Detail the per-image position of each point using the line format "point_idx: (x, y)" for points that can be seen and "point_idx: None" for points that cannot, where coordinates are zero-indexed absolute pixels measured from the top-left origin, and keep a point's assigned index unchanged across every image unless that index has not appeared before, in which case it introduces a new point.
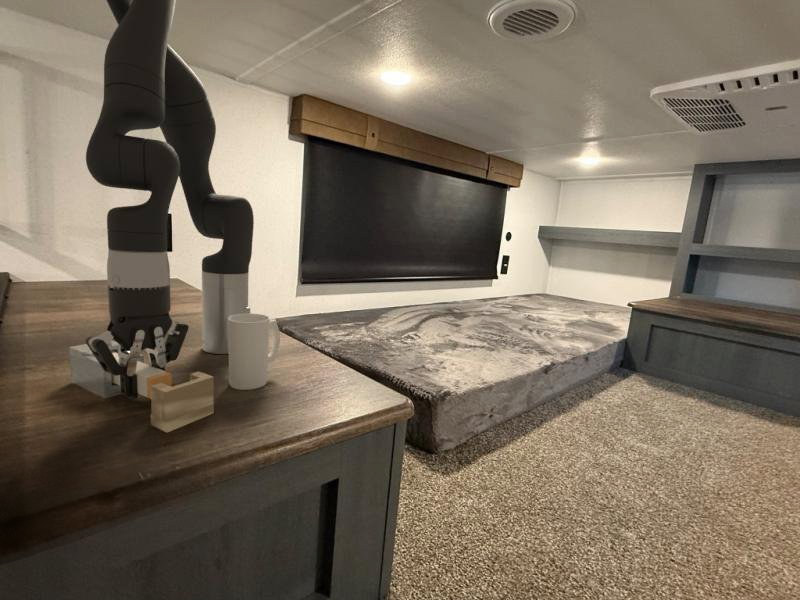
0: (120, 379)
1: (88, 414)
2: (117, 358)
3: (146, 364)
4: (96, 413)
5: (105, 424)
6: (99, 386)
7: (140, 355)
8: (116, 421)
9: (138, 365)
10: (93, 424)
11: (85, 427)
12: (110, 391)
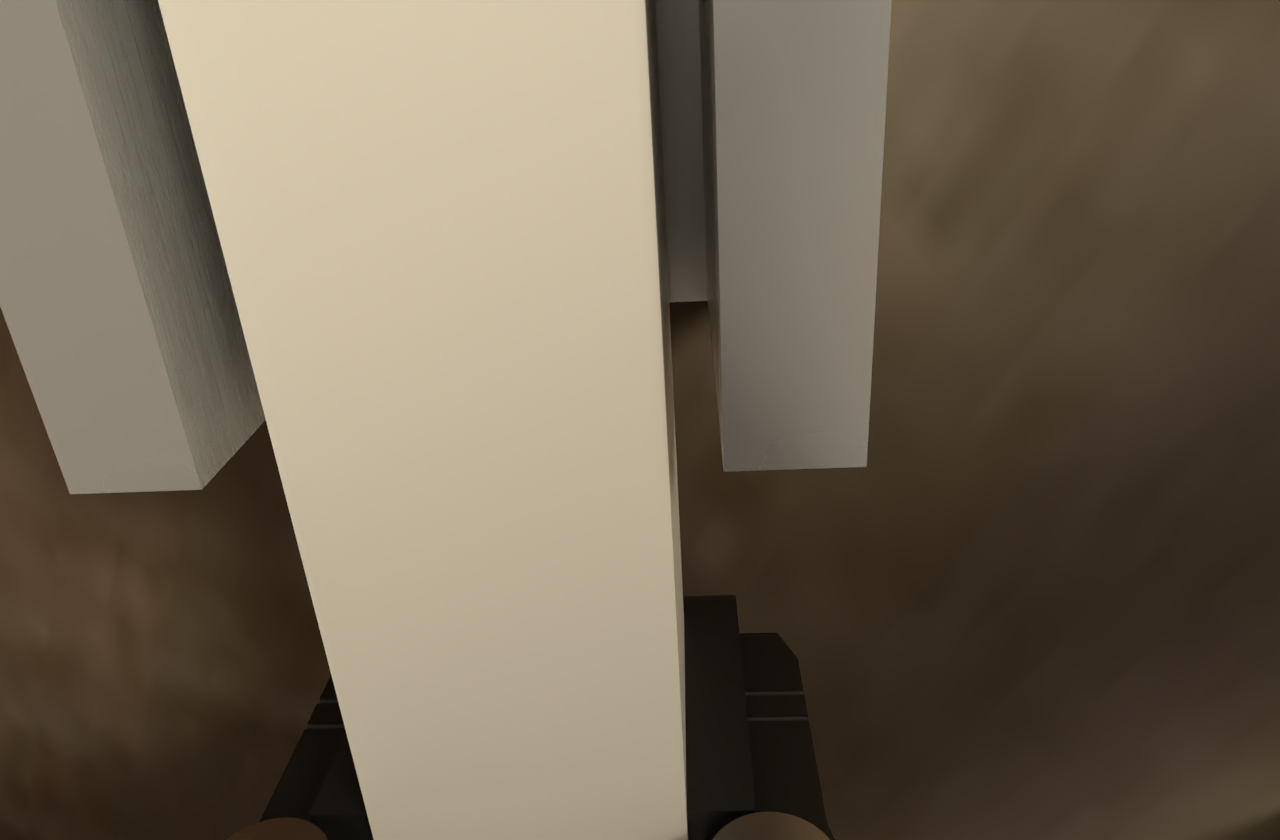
0: (276, 797)
1: (123, 513)
2: (453, 132)
3: (675, 781)
4: (182, 540)
5: (199, 751)
6: None
7: (814, 445)
8: (273, 761)
9: (569, 742)
10: (128, 698)
11: (73, 703)
12: None
